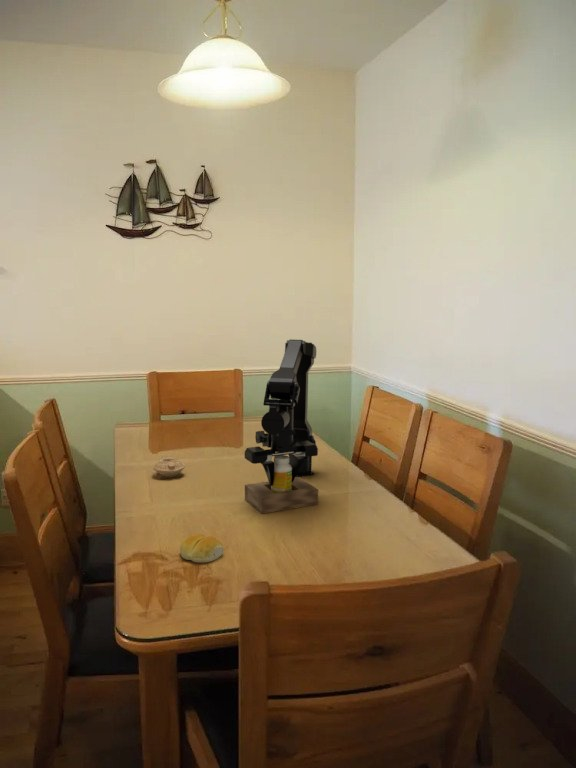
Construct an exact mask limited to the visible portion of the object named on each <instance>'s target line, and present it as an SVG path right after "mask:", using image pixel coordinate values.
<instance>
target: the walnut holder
mask: <svg viewBox="0 0 576 768" xmlns="http://www.w3.org/2000/svg"><path fill="white" fill-rule="evenodd" d="M244 501H246V502H247V503H249V505H251V506H252V507H254V509H256V510H257V511H258V512H259V513H260V514H267V513H273V512H280V511H284V510H291V509H296V508H297V509H298V508H302V507H303V508H304V507H309V506H314V505H318V504H319V488H317V487H315V486H313V485H312V484H311V483H309V482H307V481H306V480H304V479H302V478H301V477H300V476H296V477H295V479H294V481H293V482H292V491H285V492H279V493H274V492H273V491H271V485H270V483H269V481H264V482H256V483H249V484H248V483H247V484H244Z"/></svg>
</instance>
